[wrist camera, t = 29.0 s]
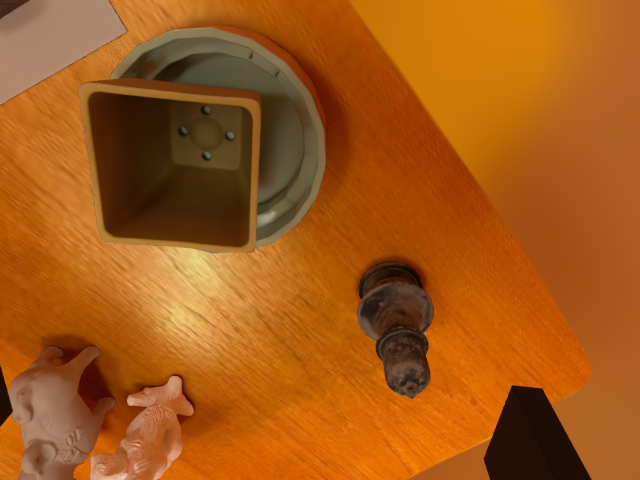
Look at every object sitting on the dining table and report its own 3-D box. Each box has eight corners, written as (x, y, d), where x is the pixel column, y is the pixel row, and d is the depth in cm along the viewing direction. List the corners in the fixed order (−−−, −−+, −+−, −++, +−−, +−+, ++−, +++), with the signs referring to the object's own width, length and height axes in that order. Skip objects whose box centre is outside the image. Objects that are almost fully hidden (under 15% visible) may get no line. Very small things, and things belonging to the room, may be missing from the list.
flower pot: (276, 73, 30) (261, 101, 22) (269, 195, 34) (255, 256, 26) (140, 58, 29) (75, 81, 21) (150, 184, 33) (98, 242, 26)
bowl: (365, 148, 33) (371, 170, 28) (227, 254, 37) (212, 287, 32) (230, -26, 28) (211, -33, 23) (89, 118, 32) (50, 135, 28)
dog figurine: (78, 433, 47) (13, 540, 38) (37, 335, 41) (-51, 434, 32) (128, 432, 47) (75, 541, 37) (94, 334, 41) (22, 433, 32)
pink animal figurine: (168, 357, 42) (112, 475, 31) (221, 397, 44) (186, 521, 34) (113, 399, 45) (44, 522, 34) (166, 436, 47) (117, 562, 36)
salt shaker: (429, 310, 39) (466, 425, 28) (362, 322, 40) (373, 438, 29) (420, 252, 36) (456, 353, 26) (348, 266, 37) (354, 369, 26)
